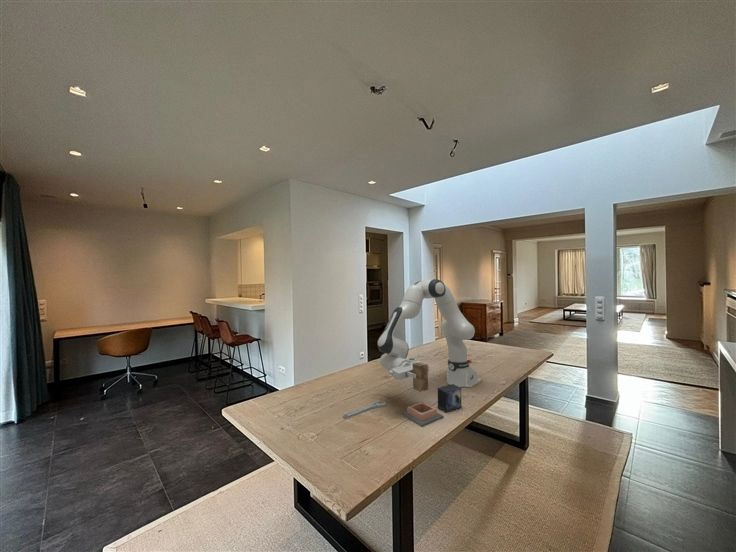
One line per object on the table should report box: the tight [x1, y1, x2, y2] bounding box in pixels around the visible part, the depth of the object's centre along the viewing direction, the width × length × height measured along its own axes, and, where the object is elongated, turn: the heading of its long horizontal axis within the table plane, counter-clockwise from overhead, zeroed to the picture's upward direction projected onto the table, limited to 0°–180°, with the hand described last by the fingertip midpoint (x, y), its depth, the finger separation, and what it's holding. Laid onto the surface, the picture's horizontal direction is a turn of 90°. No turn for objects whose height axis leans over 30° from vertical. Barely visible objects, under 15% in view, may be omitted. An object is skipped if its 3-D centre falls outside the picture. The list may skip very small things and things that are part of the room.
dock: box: [400, 401, 445, 428], centre depth 138 cm, size 14×14×4 cm
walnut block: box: [412, 361, 429, 393], centre depth 139 cm, size 5×5×12 cm
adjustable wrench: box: [342, 400, 387, 419], centre depth 147 cm, size 25×6×2 cm, turn 122°
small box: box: [437, 384, 463, 413], centre depth 146 cm, size 11×6×10 cm, turn 115°
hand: (421, 374), depth 138 cm, fingers closed on walnut block, 5 cm apart
